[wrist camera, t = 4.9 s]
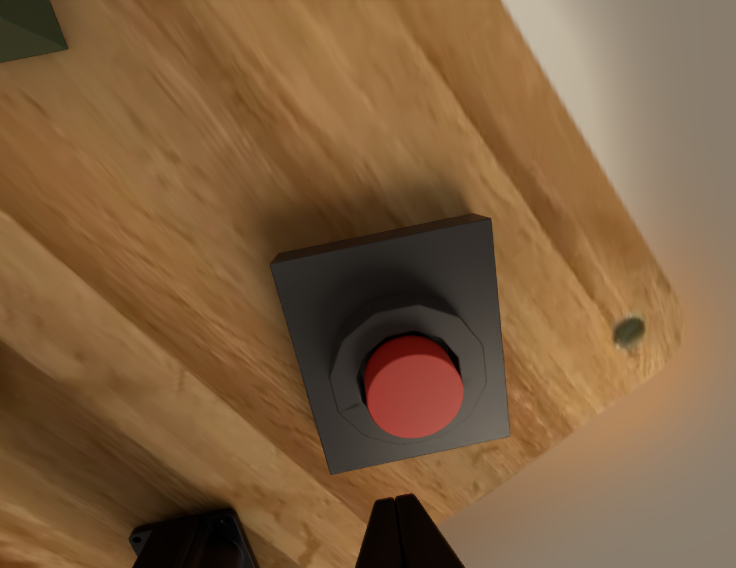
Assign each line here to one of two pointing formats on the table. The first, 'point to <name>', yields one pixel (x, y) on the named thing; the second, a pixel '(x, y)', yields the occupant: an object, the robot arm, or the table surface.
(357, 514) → the table surface
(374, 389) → the light button
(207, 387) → the table surface
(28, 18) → the dimmer panel
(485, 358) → the lamp switch
